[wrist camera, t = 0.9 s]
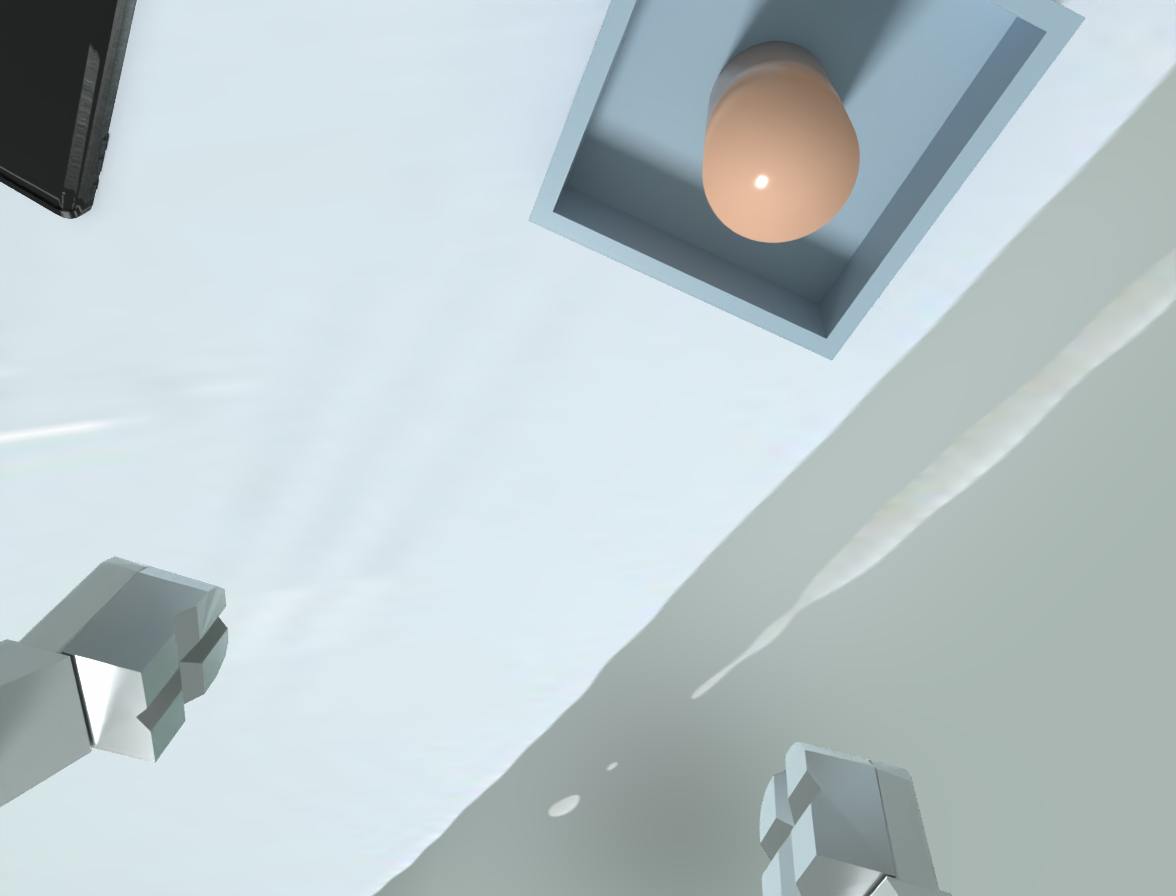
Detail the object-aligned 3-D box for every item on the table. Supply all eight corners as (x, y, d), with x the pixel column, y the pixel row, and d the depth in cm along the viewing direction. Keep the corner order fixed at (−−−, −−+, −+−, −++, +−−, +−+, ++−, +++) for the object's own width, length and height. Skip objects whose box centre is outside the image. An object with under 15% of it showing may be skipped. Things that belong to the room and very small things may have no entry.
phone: (-77, 136, 38) (-59, -200, 29) (-58, 130, 38) (-36, -199, 30) (81, 229, 39) (142, -63, 31) (95, 220, 40) (158, -65, 32)
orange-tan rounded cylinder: (691, 70, 31) (682, 121, 25) (817, 19, 29) (842, 60, 23) (727, 187, 34) (726, 260, 27) (844, 146, 32) (873, 215, 26)
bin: (546, 189, 35) (528, 220, 32) (692, -192, 27) (687, -201, 23) (823, 318, 37) (832, 360, 34) (1045, 1, 28) (1085, 18, 25)
